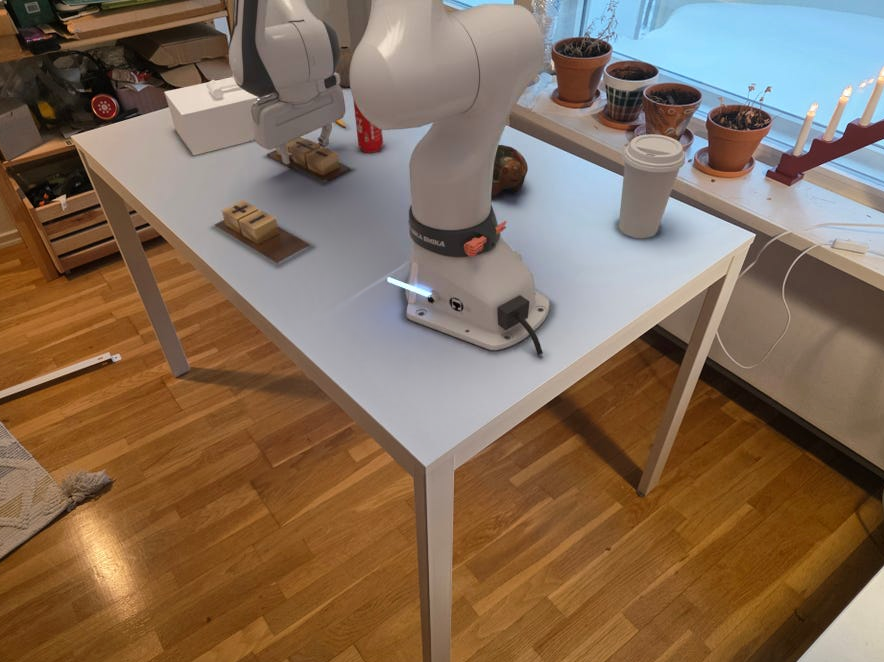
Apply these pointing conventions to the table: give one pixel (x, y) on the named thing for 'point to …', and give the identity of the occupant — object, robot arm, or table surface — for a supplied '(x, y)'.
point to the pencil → (341, 123)
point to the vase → (344, 65)
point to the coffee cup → (648, 182)
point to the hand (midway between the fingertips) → (306, 153)
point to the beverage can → (367, 133)
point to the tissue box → (212, 115)
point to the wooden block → (302, 150)
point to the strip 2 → (326, 177)
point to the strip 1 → (271, 245)
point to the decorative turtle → (508, 170)
